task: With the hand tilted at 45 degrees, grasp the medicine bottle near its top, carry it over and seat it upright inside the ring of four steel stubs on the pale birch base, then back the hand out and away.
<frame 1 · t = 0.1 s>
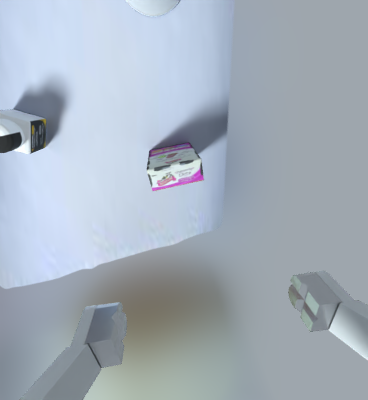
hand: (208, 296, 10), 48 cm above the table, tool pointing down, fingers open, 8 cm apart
candy bar box: (171, 154, 55), on the table
medicine bottle: (30, 129, 48), on the table
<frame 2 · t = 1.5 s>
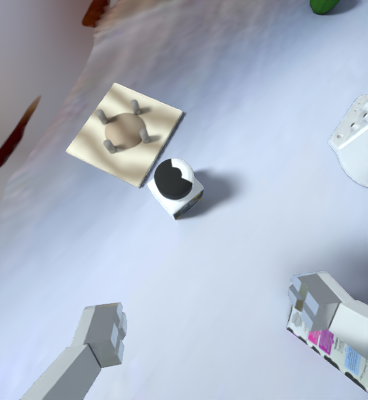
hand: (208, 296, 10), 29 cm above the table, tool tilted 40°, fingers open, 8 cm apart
candy bar box: (319, 328, 35), on the table
bell pepper: (319, 8, 54), on the table
medicine bottle: (177, 196, 41), on the table
stub cradle: (126, 133, 45), on the table
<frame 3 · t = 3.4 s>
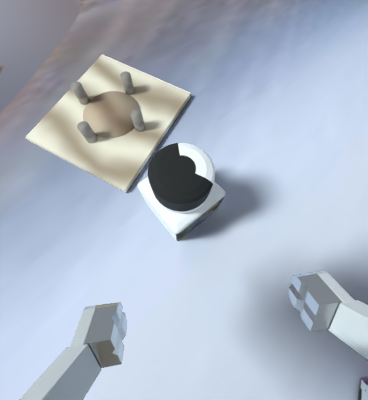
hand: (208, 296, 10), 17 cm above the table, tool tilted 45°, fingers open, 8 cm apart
medicine bottle: (181, 207, 29), on the table
stub cradle: (113, 118, 33), on the table
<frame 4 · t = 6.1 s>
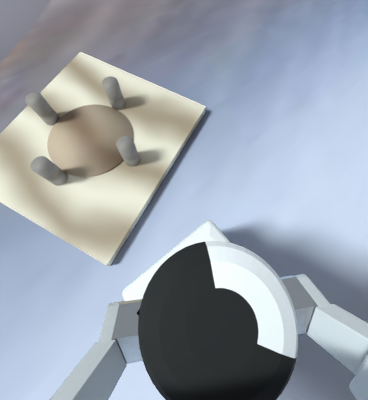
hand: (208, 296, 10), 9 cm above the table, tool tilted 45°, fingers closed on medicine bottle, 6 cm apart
medicine bottle: (196, 288, 18), on the table, touching gripper
stub cradle: (94, 144, 23), on the table
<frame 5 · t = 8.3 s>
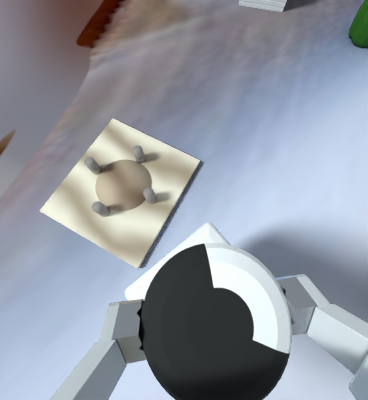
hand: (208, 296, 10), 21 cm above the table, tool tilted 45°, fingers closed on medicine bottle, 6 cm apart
bell pepper: (359, 40, 46), on the table
medicine bottle: (195, 287, 19), point 11 cm above the table, touching gripper
stub cradle: (125, 186, 34), on the table
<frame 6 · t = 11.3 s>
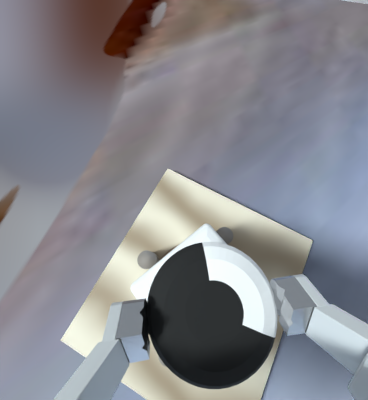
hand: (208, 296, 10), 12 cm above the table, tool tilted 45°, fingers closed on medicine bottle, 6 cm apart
medicine bottle: (195, 285, 20), point 1 cm above the table, touching gripper, stub cradle
stub cradle: (195, 285, 21), on the table
when the fingers open (12 cm above the table, at t = 11.7 s): medicine bottle stays where it is, resting on stub cradle.
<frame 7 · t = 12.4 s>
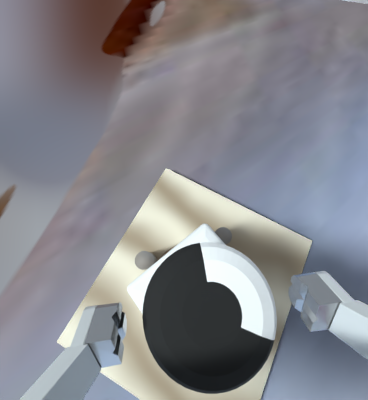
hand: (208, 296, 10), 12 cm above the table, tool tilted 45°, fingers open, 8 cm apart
medicine bottle: (193, 285, 20), point 1 cm above the table, touching stub cradle
stub cradle: (194, 286, 21), on the table
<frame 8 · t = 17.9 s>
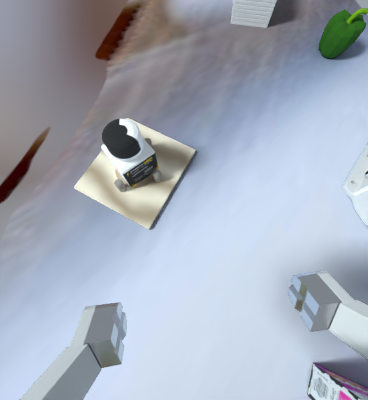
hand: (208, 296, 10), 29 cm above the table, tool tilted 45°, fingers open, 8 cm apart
candy bar box: (342, 394, 32), on the table
bell pepper: (327, 52, 56), on the table
medicine bottle: (136, 167, 43), point 1 cm above the table, touching stub cradle
stub cradle: (137, 170, 44), on the table
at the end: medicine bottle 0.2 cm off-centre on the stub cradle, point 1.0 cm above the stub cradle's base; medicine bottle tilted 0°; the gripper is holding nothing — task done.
